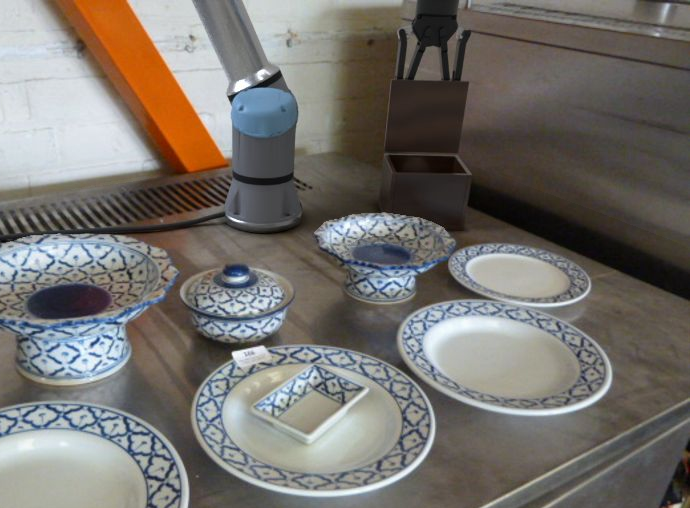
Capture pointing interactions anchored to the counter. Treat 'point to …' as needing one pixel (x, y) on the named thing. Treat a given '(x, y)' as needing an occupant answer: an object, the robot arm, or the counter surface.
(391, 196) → the chest
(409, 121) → the lid
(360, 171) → the counter surface
